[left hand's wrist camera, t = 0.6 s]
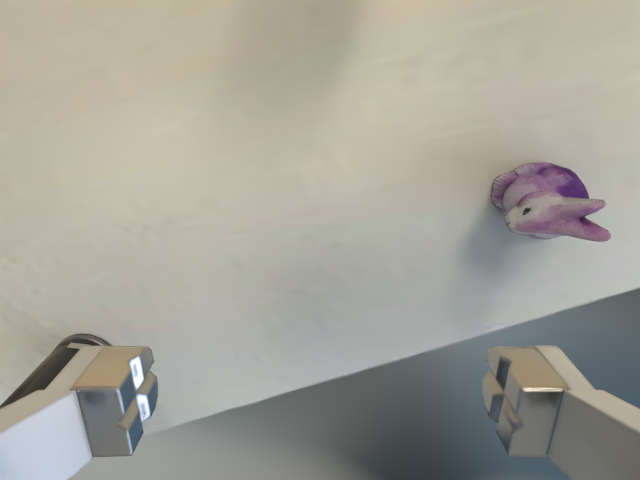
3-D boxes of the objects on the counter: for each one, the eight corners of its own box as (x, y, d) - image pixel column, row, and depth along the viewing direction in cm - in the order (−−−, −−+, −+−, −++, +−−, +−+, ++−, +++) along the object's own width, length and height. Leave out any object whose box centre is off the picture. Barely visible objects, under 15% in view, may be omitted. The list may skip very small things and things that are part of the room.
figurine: (470, 195, 56) (521, 234, 42) (538, 139, 53) (616, 162, 39) (512, 245, 58) (573, 298, 44) (579, 194, 56) (666, 234, 42)
